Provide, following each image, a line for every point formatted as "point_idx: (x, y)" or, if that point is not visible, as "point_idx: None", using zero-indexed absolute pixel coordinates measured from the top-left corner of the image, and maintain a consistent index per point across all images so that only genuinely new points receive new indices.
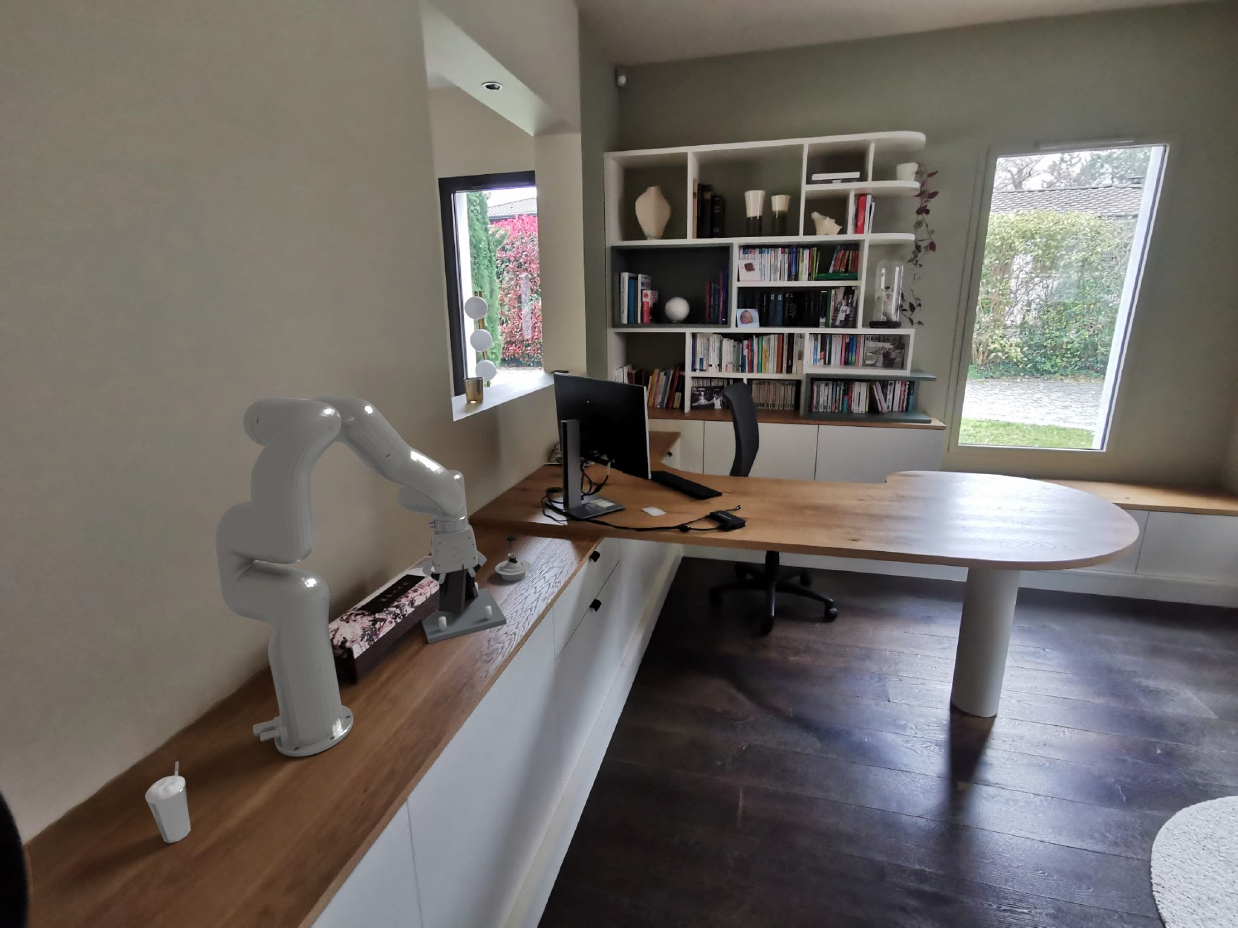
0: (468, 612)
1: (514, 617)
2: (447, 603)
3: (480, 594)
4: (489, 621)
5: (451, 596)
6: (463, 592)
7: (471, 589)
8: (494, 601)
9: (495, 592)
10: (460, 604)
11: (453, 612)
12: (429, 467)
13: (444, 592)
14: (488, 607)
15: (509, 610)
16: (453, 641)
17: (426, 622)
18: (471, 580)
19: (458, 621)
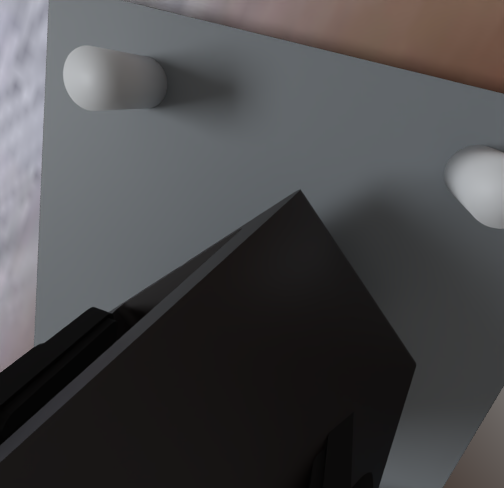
0: None
1: (11, 34)
2: (352, 339)
3: None
4: (154, 38)
5: (304, 358)
6: (180, 291)
7: (88, 324)
8: (43, 254)
9: (19, 355)
10: (272, 228)
11: (338, 247)
12: None
13: (349, 450)
14: (85, 72)
15: (12, 137)
16: (472, 17)
17: (495, 349)
18: (2, 385)
19: (322, 200)
